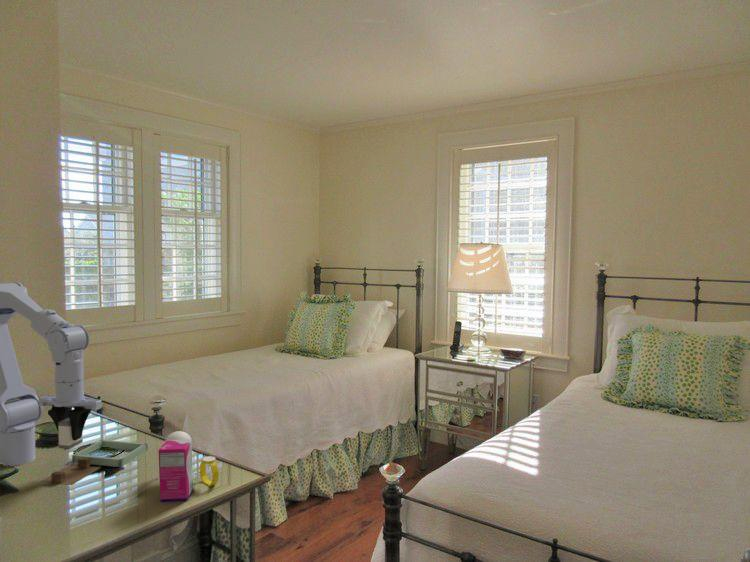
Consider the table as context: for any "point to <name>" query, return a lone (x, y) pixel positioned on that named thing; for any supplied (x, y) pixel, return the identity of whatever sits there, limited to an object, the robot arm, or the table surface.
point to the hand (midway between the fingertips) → (70, 438)
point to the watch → (211, 462)
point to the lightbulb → (178, 436)
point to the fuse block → (72, 473)
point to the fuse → (67, 435)
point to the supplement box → (175, 470)
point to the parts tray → (117, 462)
